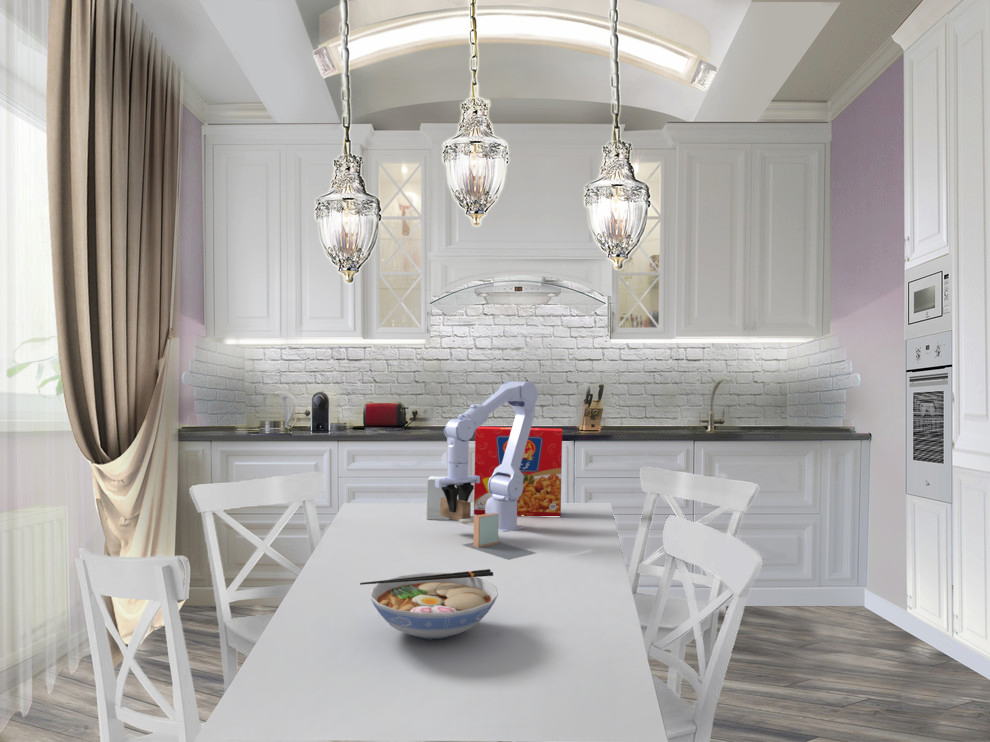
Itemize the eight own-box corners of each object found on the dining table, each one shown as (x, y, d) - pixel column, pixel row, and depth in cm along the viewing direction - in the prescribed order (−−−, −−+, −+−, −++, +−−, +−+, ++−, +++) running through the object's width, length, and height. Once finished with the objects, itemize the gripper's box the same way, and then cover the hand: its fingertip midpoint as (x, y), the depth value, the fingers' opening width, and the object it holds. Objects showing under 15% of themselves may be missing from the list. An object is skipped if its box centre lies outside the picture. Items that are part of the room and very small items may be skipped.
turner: (437, 516, 194) (437, 498, 194) (451, 513, 197) (451, 496, 197) (475, 527, 181) (476, 508, 181) (490, 524, 185) (490, 506, 185)
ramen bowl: (369, 666, 108) (370, 614, 108) (356, 615, 130) (357, 572, 130) (520, 651, 115) (521, 602, 115) (484, 605, 137) (485, 564, 137)
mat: (461, 546, 182) (461, 544, 182) (489, 540, 189) (489, 539, 189) (508, 561, 169) (508, 559, 169) (536, 554, 175) (536, 552, 175)
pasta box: (473, 514, 222) (475, 428, 222) (476, 509, 230) (478, 426, 230) (560, 518, 220) (562, 430, 220) (560, 512, 228) (562, 428, 228)
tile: (473, 546, 181) (473, 515, 181) (493, 542, 185) (493, 512, 185) (478, 547, 179) (479, 517, 179) (498, 543, 184) (499, 513, 184)
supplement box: (449, 520, 213) (450, 479, 213) (425, 519, 213) (426, 479, 213) (451, 515, 221) (452, 476, 221) (428, 514, 221) (429, 475, 221)
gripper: (446, 466, 183) (445, 516, 184) (487, 461, 193) (486, 510, 193) (430, 463, 189) (429, 512, 189) (471, 459, 198) (470, 506, 198)
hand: (457, 511), depth 191 cm, fingers closed on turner, 3 cm apart
